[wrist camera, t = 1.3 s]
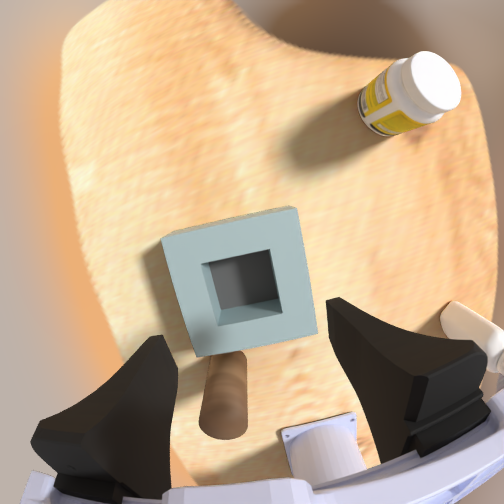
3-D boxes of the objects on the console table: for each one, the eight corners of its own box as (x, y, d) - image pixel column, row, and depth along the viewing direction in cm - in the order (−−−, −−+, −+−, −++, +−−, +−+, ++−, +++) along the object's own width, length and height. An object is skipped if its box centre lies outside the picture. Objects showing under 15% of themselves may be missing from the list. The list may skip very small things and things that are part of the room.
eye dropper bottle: (468, 289, 24) (549, 335, 12) (468, 333, 25) (536, 386, 13) (437, 305, 24) (518, 363, 12) (439, 350, 25) (504, 414, 13)
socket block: (308, 314, 24) (318, 333, 20) (202, 335, 24) (196, 357, 21) (288, 205, 22) (296, 208, 19) (173, 231, 22) (160, 238, 19)
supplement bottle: (414, 121, 21) (476, 101, 12) (378, 147, 21) (438, 130, 13) (383, 75, 20) (435, 37, 12) (344, 98, 20) (390, 58, 12)
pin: (250, 373, 25) (252, 436, 17) (215, 378, 25) (206, 441, 17) (242, 343, 24) (241, 404, 16) (206, 349, 24) (192, 410, 16)
